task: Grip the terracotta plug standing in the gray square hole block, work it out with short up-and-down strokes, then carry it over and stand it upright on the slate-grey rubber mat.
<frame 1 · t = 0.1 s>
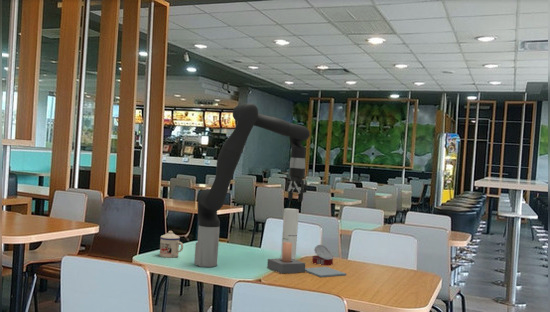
hand: (295, 200, 246), 29 cm above the table, fingers open, 8 cm apart
plug: (286, 256, 223), in the gray square hole block
gray square hole block: (285, 270, 223), on the table
mat: (323, 272, 223), on the table
teacup with lid: (171, 256, 237), on the table
cylindrical container: (288, 261, 245), on the table
canned food: (322, 263, 245), on the table
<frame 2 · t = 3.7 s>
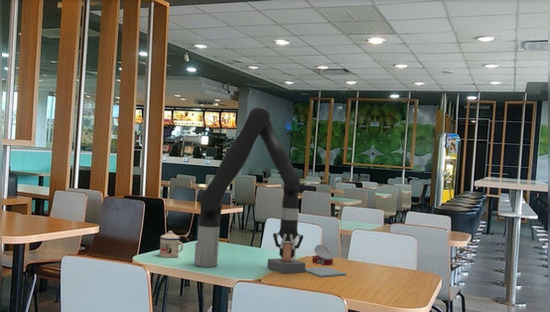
hand: (286, 257, 223), 6 cm above the table, fingers closed on plug, 4 cm apart
plug: (286, 256, 223), in the gray square hole block, touching gripper
everything else where it was.
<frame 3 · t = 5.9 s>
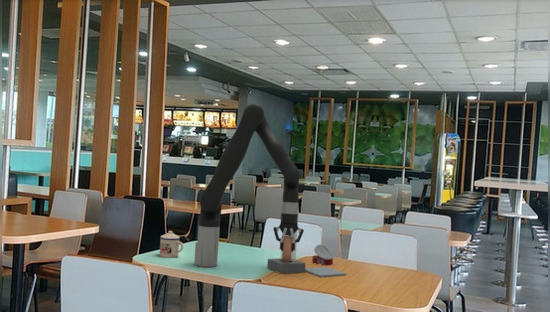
hand: (287, 250, 223), 8 cm above the table, fingers closed on plug, 4 cm apart
plug: (287, 250, 223), point 9 cm above the table, touching gripper
everything else where it was.
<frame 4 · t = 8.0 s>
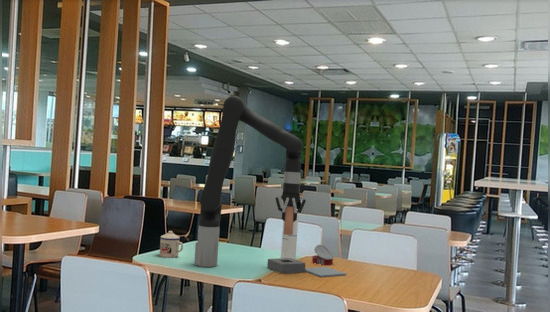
hand: (289, 221, 223), 22 cm above the table, fingers closed on plug, 4 cm apart
plug: (289, 220, 223), point 22 cm above the table, touching gripper
everything else where it was.
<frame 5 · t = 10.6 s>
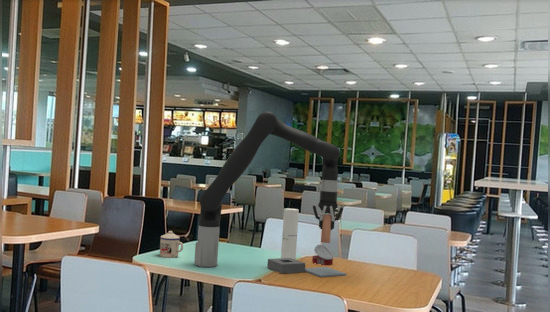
hand: (326, 229, 223), 19 cm above the table, fingers closed on plug, 4 cm apart
plug: (326, 228, 223), point 20 cm above the table, touching gripper
everything else where it was.
when the fingers open (9 cm above the table, at t = 12.8 s): plug drops 2 cm, resting on mat.
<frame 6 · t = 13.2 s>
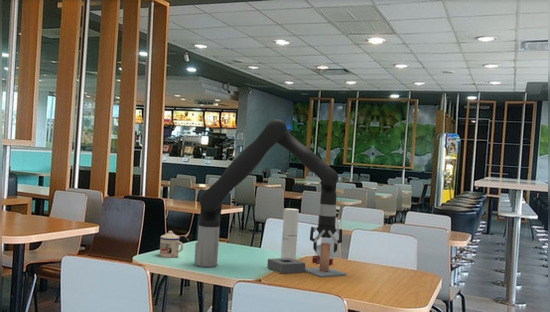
hand: (325, 251, 223), 9 cm above the table, fingers open, 8 cm apart
plug: (324, 257, 223), on the mat, point 7 cm above the table
everything else where it was.
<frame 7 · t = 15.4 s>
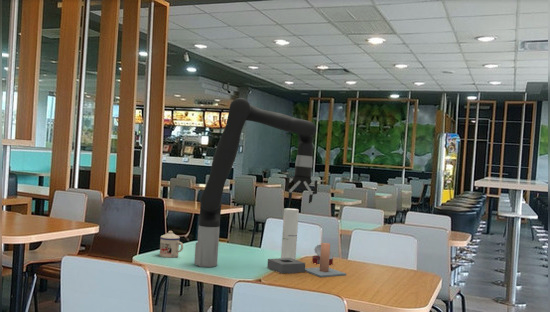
hand: (299, 202, 226), 30 cm above the table, fingers open, 8 cm apart
nothing on the table moved.
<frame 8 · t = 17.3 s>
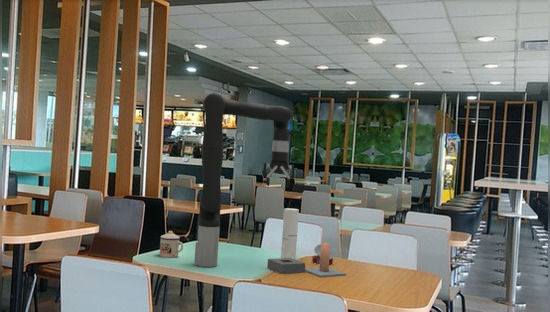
hand: (277, 186, 229), 36 cm above the table, fingers open, 8 cm apart
nothing on the table moved.
at the end: plug inside the target area on the mat (0.1 cm from its centre), point 6.8 cm above the mat's base; plug tilted 0°; the gripper is holding nothing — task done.
